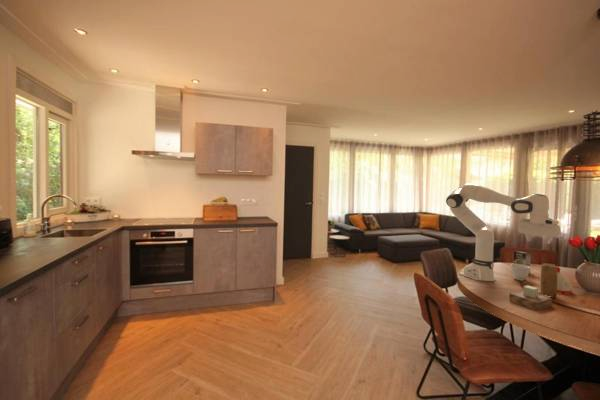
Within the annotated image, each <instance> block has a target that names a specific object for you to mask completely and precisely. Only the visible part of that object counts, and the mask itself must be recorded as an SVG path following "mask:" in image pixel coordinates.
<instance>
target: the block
mask: <svg viewBox="0 0 600 400" xmlns="http://www.w3.org/2000/svg"><path fill="white" fill-rule="evenodd" d="M557 267H558V266H557V265H556V264H554V263H546V262H545V263H541V269H540V295H541V294H543V295H547V296H551V297H556V298H557V296H558V293H557Z"/></svg>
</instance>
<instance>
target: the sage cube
mask: <svg viewBox="0 0 600 400" xmlns="http://www.w3.org/2000/svg"><path fill="white" fill-rule="evenodd" d="M522 290H523V295H525V296H528V297H532V298H535V297H538V294H539V287H536V286H531V285H528V284H527V285H524V286H523V289H522Z"/></svg>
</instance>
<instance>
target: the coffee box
mask: <svg viewBox="0 0 600 400" xmlns="http://www.w3.org/2000/svg"><path fill="white" fill-rule="evenodd" d="M531 257H532V253H531V252H526V251H521V250H515V251H513V263H514V264H521V265H526V266H529V267H531V263H532V262H531V259H532V258H531ZM530 273H531V268H530V269H529V274H530Z"/></svg>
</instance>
